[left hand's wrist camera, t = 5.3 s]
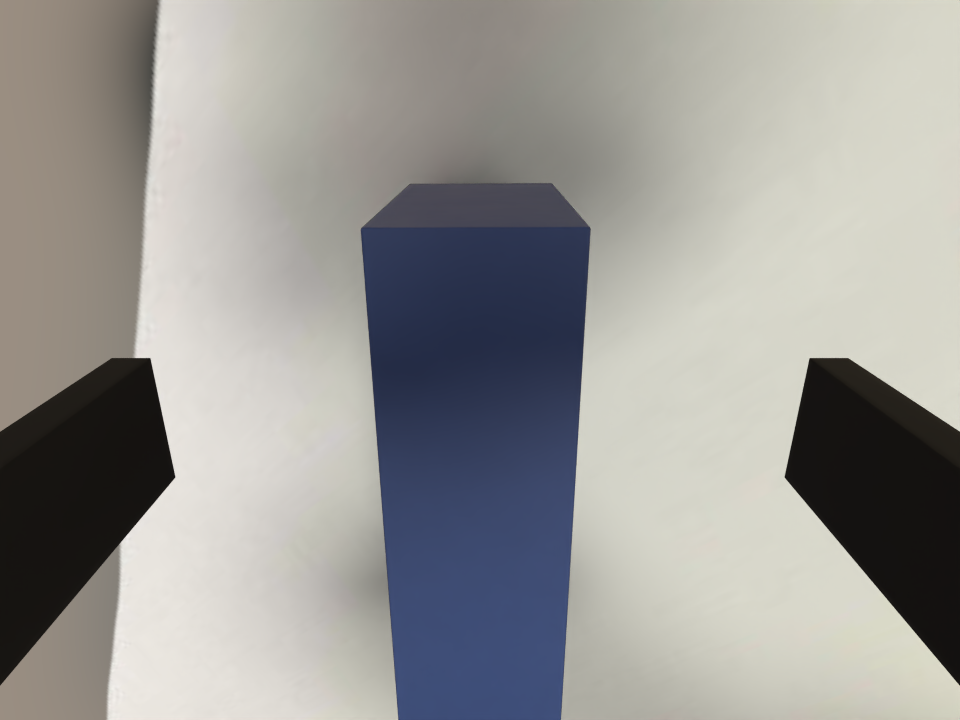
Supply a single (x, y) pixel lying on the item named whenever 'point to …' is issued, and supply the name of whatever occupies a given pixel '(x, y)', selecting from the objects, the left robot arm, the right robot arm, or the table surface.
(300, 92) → the table surface
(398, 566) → the bar
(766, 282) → the table surface
